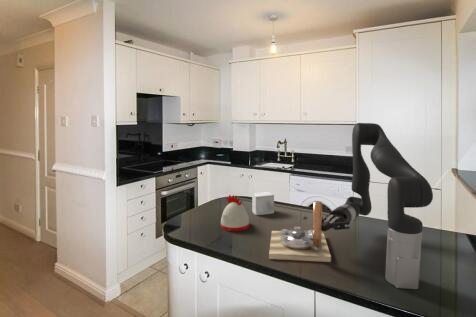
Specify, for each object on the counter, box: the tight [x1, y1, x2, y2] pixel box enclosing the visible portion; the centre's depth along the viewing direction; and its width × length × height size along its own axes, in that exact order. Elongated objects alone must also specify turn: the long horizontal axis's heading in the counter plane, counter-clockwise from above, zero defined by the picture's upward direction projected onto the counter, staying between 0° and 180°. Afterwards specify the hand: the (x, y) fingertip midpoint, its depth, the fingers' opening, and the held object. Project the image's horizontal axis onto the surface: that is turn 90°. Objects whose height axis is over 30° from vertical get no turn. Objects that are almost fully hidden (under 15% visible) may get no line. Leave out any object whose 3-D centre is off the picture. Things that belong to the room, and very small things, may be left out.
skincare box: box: [251, 191, 275, 216], centre depth 162 cm, size 10×6×10 cm, turn 106°
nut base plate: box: [268, 230, 332, 263], centre depth 120 cm, size 22×22×2 cm
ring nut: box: [280, 200, 323, 251], centre depth 116 cm, size 20×14×20 cm
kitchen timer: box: [220, 194, 251, 232], centre depth 144 cm, size 14×14×15 cm
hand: (322, 228), depth 108 cm, fingers closed
